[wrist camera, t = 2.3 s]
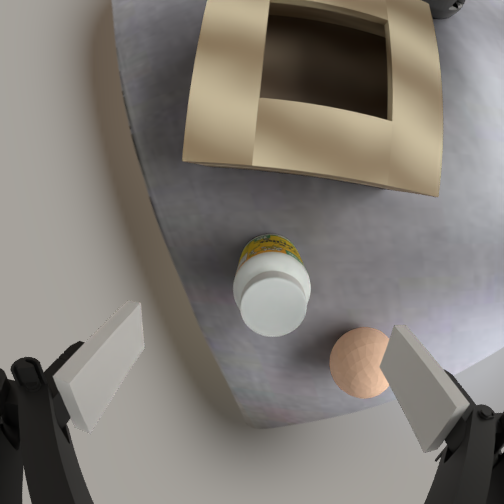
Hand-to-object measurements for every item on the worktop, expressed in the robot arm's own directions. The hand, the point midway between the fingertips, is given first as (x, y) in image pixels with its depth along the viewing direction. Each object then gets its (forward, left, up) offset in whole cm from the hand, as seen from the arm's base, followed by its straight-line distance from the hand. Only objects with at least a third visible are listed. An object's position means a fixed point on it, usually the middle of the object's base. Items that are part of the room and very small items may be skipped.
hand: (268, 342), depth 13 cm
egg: (+8, +10, -13) cm, 18 cm away
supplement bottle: (0, 0, -13) cm, 13 cm away
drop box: (-16, +2, -13) cm, 21 cm away
